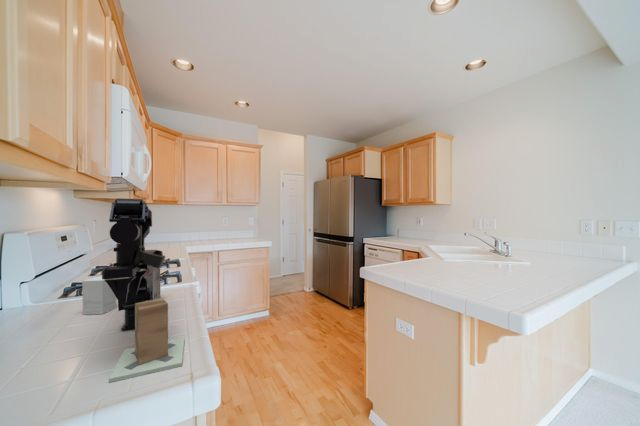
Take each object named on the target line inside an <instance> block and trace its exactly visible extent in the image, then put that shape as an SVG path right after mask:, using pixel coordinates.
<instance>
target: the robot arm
mask: <svg viewBox="0 0 640 426" xmlns="http://www.w3.org/2000/svg"><path fill="white" fill-rule="evenodd" d="M147 204H148V203H146V201H144V199H142V198H115V200H114V202H112V203H111V208H110V214H109V220H108V221H109V222H110V223H114V224H113V225H112V226H111V227H110V230H109V236H110V238H111V240H112V241H113V242H115V243H116V245H115V246H116V247H113V252H115V254H116V257H115V259H116V260H115V263H113V265H112V266H107V267H106V268H105V269H104V270H103V271H101V272H102V273H101V276H102V279H106V280H105V282H107V284H108V285H109V287H110V288H111V290H112V291H113V293H114V295H115V296H116V301H117V306H118V312H121V311H124V324H123V326H122V327H121V328H120V330H121V331H123V332H124V331H127V330H133V329H134V330H135V303H139V302H145V301H146V300H148V301H150V300H153V292H152V291H151V290H150V288H148V283H147V280H146V279H145V278H144V276H143V275H144V274H145V273H147V272H148V270H147V269H150V266H153V267H155V268H160V269H161V267H162V266H163V264H164V262H165V259H166V256H165V255H164V254H163V250H158V249H155V250H156V251H155V252H154V253H152V252H146V251H145V250H146V247H145V240H146V238H147V237H148V235H149V234H150V231H151V228H152V227H153V211H151V209H150V208H149V206H148V205H147ZM143 269H146V270H143Z"/></svg>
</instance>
